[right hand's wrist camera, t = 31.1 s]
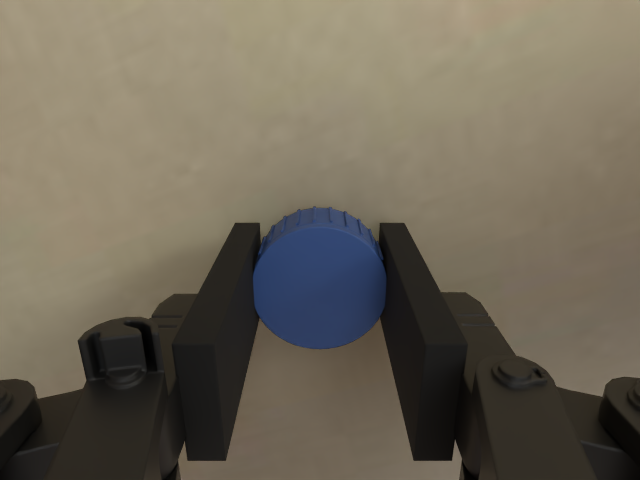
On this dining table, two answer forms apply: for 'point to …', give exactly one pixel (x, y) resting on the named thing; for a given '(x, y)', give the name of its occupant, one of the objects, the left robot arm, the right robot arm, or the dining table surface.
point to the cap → (319, 279)
